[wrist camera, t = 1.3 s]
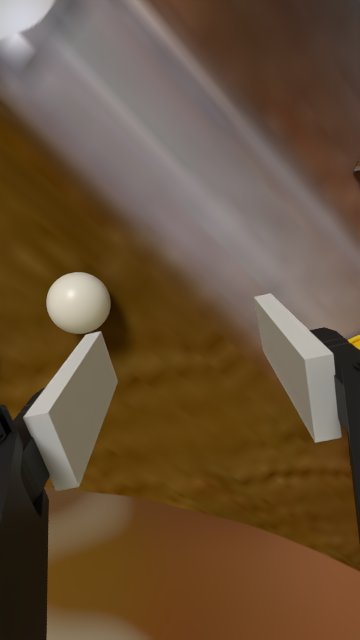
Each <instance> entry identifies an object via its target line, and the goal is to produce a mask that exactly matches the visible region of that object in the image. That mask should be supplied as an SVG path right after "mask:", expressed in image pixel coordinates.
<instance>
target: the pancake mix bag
mask: <svg viewBox="0 0 360 640" xmlns="http://www.w3.org/2000/svg"><path fill="white" fill-rule="evenodd" d="M358 170H360V159H359V161H358V163H357V165H356V167H355V169H354V171H358Z"/></svg>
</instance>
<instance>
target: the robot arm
mask: <svg viewBox="0 0 360 640" xmlns="http://www.w3.org/2000/svg"><path fill="white" fill-rule="evenodd" d="M254 301H255V307H256V313H257V319H258V325H259V331H260V336H261V342H262V348H263V352H264V354H265V355H266V357H267V359H268V361H269V362H270V364H271V366H272V368H273V369H274V371H275V373H276V375H277V376H278V378H279V380H280V382H281V384H282V385H283V387H284V389H285V391H286V392H287V394H288V396H289V398H290V399H291V401H292V403H293V405H294V406H295V408H296V410H297V412H298V413H299V415H300V417H301V419H302V420H303V422H304V424H305V426H306V427H307V429H308V431H309V433H310V434H311V436H312V438H313V440H314V441H315V443H316V442H322V441H327V440H332V439H338V438H342V437H341V427H340V422H341V423H342V425H343V426H344V427H345V429H346V430H347V431H348V443H349V454H350V465H351V470H352V479H353V488H354V497H355V506H356V515H357V524H358V533H359V542H360V350H359V349H358V348H356V347H355V346H354V345H353V344H351V343H349V341H348V340H346V339H345V338H343V336H341V335H340V334H339V333H338V332H336V331H334V330H331V329H328V328H319V329H314V330H308V329H307V328H306V327H305V326H304V325H303V324H302V323H301V322H300V321H299V320H298V319H297V318H296V317H295V316H293V315H292V314H291V313H290V312H289V311H288V310H287V309H286V308H285V307H284V306H283V305H282V304H281V303H280V302H279V301H278V300H277V299H276V298H275V297H274V296H273V295H272V294H271V293H270V294H266V295H261V296H257V297H254ZM117 382H118V381H117V378H116V375H115V372H114V369H113V365H112V362H111V359H110V356H109V353H108V350H107V347H106V344H105V341H104V338H103V335H102V332H101V331H100V332H95V333H91V334H87V335H85V336H84V338H83V339H82V340H81V342H80V343H79V344H78V346H77V347H76V348H75V350H74V351H73V352H72V354H71V355H70V356H69V357H68V359H67V360H66V361H65V363H64V364H63V365H62V367H61V368H60V369H59V371H58V372H57V373H56V375H55V376H54V377H53V379H52V380H51V381H50V383H49V384H48V385H47V387H46V388H43V389H41V390H40V391H39V392H37V393H36V394H35V395H34V396H32V398H31V399H30V400H29V401H28V403H27V404H26V406H24V408H23V409H22V410H21V413H19V414H18V415H17V416H16V418H15V419H14V420H12V418H11V416H10V414H9V412H8V409H7V407H6V406H5V405H0V640H46V634H47V569H48V509H49V506H48V505H49V499H48V496H47V494H46V492H45V489H44V486H45V484H46V482H47V480H48V478H49V477H50V479H51V481H52V484H53V486H54V488H55V490H56V491H59V490H64V489H70V488H75V487H79V486H80V483H81V480H82V478H83V475H84V472H85V469H86V467H87V464H88V461H89V459H90V456H91V453H92V450H93V448H94V445H95V442H96V440H97V437H98V434H99V431H100V429H101V426H102V423H103V421H104V418H105V415H106V412H107V410H108V407H109V404H110V401H111V399H112V396H113V393H114V391H115V388H116V385H117Z"/></svg>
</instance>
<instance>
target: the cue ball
mask: <svg viewBox="0 0 360 640" xmlns="http://www.w3.org/2000/svg"><path fill="white" fill-rule="evenodd" d="M46 303H47V310H48V313H49V316H50V318H51V319H52V321H53V322H54V323H55V324H56V325H57V326H58V327H59V328H61V329H63V330H65V331H67V332H70V333H74V334H84V333H88V332H91V331H93V330H95V329H97V328H98V327H100V326H101V325H102V324H103V323H104V322H105V320H106V319H107V317H108V315H109V312H110V306H111V301H110V295H109V293H108V290H107V288H106V287H105V285H104V284H103V283H102V282H101V281H100V280H99V279H97V278H96V277H94V276H92V275H90V274H87V273H81V272H75V273H70V274H66V275H64V276H62V277H60V278H59V279H58V280H57V281H55V282H54V284H53V285H52V286H51V288H50V290H49V292H48V295H47V302H46Z"/></svg>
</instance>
